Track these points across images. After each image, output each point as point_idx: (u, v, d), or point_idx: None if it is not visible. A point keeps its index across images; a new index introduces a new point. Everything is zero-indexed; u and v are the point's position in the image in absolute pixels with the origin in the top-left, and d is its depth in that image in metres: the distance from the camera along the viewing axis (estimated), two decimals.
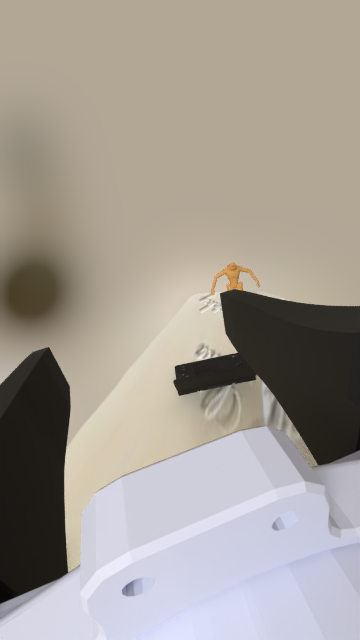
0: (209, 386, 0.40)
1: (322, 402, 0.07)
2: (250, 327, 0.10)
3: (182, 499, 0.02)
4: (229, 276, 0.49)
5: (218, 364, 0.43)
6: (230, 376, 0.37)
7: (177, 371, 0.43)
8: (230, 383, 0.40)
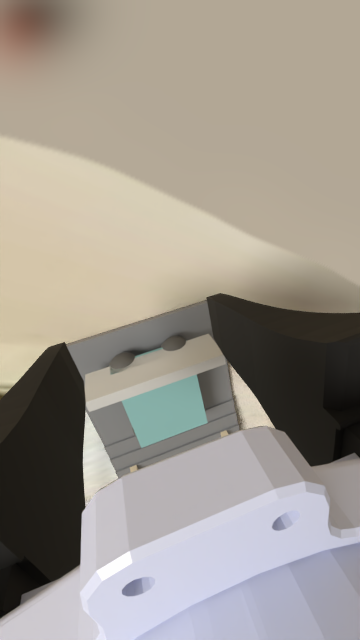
0: None
1: (301, 410, 0.07)
2: (234, 332, 0.10)
3: (182, 499, 0.02)
4: None
5: None
6: None
7: None
8: None
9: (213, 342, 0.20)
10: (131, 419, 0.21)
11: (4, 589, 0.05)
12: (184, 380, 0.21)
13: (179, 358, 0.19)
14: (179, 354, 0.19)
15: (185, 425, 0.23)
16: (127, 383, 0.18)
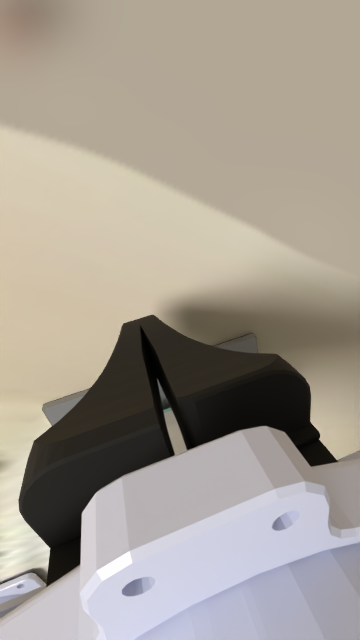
0: None
1: None
2: (154, 359, 0.10)
3: (182, 499, 0.02)
4: None
5: None
6: None
7: None
8: None
9: None
10: None
11: None
12: None
13: None
14: None
15: None
16: None
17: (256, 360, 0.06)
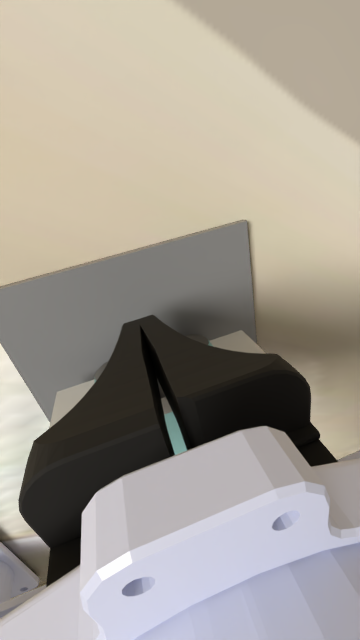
0: None
1: None
2: (154, 359, 0.10)
3: (182, 499, 0.02)
4: None
5: None
6: None
7: None
8: None
9: (251, 342, 0.13)
10: None
11: None
12: None
13: None
14: None
15: None
16: None
17: (256, 360, 0.06)
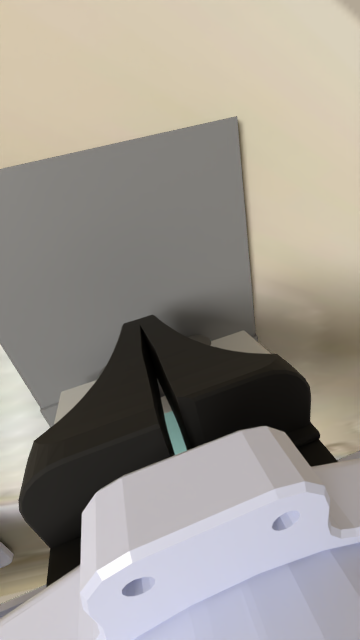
0: None
1: None
2: (154, 359, 0.10)
3: (182, 499, 0.02)
4: None
5: None
6: None
7: None
8: None
9: (253, 341, 0.13)
10: None
11: None
12: None
13: None
14: None
15: None
16: None
17: (256, 360, 0.06)
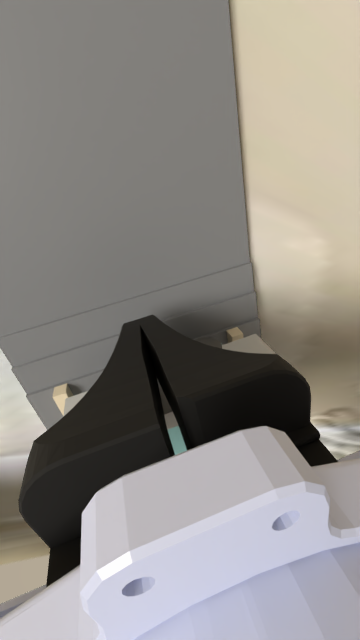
0: None
1: None
2: (154, 359, 0.10)
3: (182, 499, 0.02)
4: None
5: None
6: None
7: None
8: None
9: (267, 347, 0.12)
10: None
11: None
12: None
13: None
14: None
15: None
16: None
17: (256, 360, 0.06)
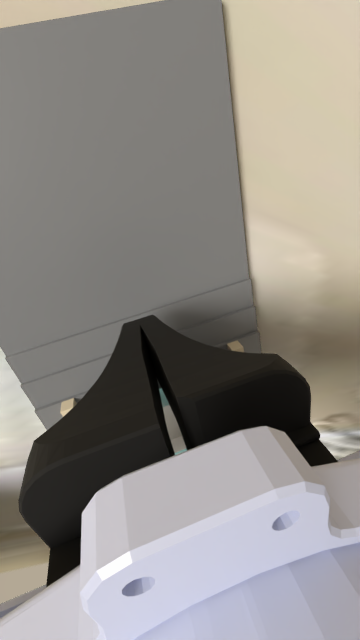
0: None
1: None
2: (154, 359, 0.10)
3: (182, 499, 0.02)
4: None
5: None
6: None
7: None
8: None
9: None
10: None
11: None
12: None
13: None
14: None
15: None
16: None
17: (256, 360, 0.06)
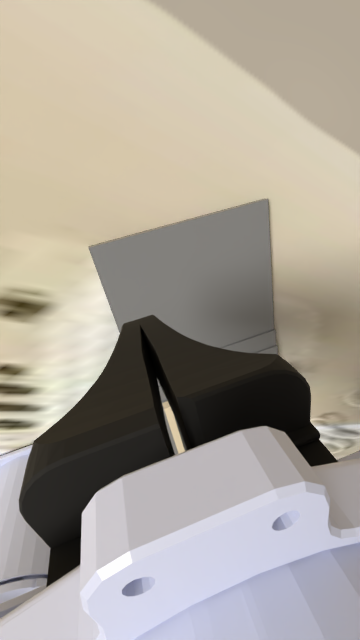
0: None
1: None
2: (154, 359, 0.10)
3: (182, 499, 0.02)
4: None
5: None
6: None
7: None
8: None
9: None
10: None
11: None
12: None
13: None
14: None
15: None
16: None
17: (256, 360, 0.06)
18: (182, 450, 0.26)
